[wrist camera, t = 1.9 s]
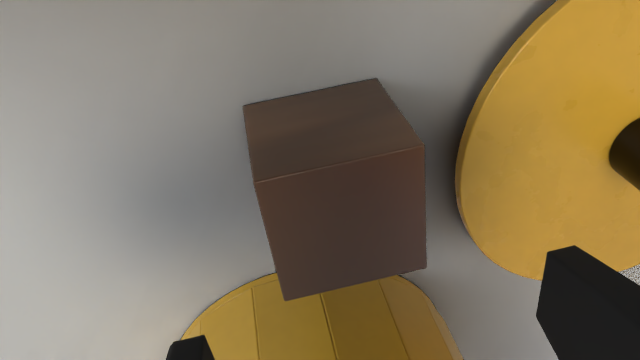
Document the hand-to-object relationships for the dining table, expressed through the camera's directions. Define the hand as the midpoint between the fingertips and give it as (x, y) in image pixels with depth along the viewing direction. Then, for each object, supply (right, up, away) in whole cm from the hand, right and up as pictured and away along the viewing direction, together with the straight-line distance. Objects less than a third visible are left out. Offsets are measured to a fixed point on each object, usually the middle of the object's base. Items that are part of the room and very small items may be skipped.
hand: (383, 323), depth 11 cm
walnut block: (-1, +4, +6) cm, 7 cm away
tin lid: (+10, +5, +7) cm, 13 cm away
